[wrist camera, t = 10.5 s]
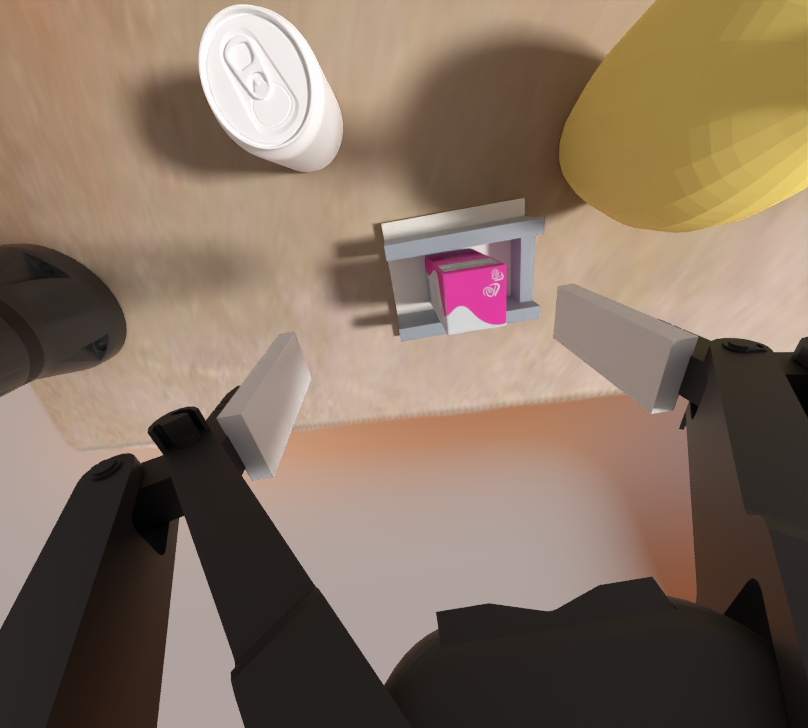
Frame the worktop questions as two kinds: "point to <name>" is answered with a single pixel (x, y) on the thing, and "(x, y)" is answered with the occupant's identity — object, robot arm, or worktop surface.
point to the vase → (695, 116)
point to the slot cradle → (451, 231)
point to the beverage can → (269, 88)
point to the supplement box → (466, 290)
